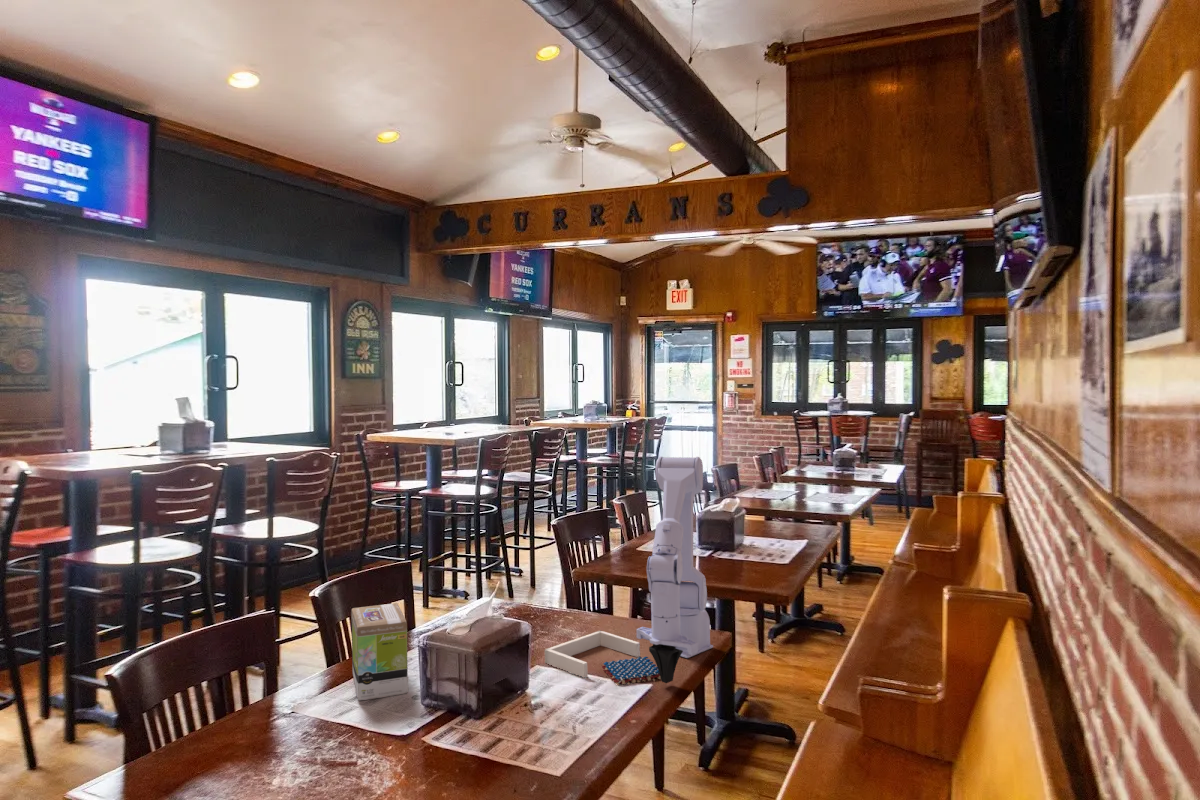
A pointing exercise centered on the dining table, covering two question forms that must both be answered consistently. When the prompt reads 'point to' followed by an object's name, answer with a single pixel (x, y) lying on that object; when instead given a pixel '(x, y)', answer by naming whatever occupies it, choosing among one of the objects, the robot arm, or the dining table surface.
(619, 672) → the woven mat
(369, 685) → the tea box
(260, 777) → the dining table surface
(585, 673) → the frame
